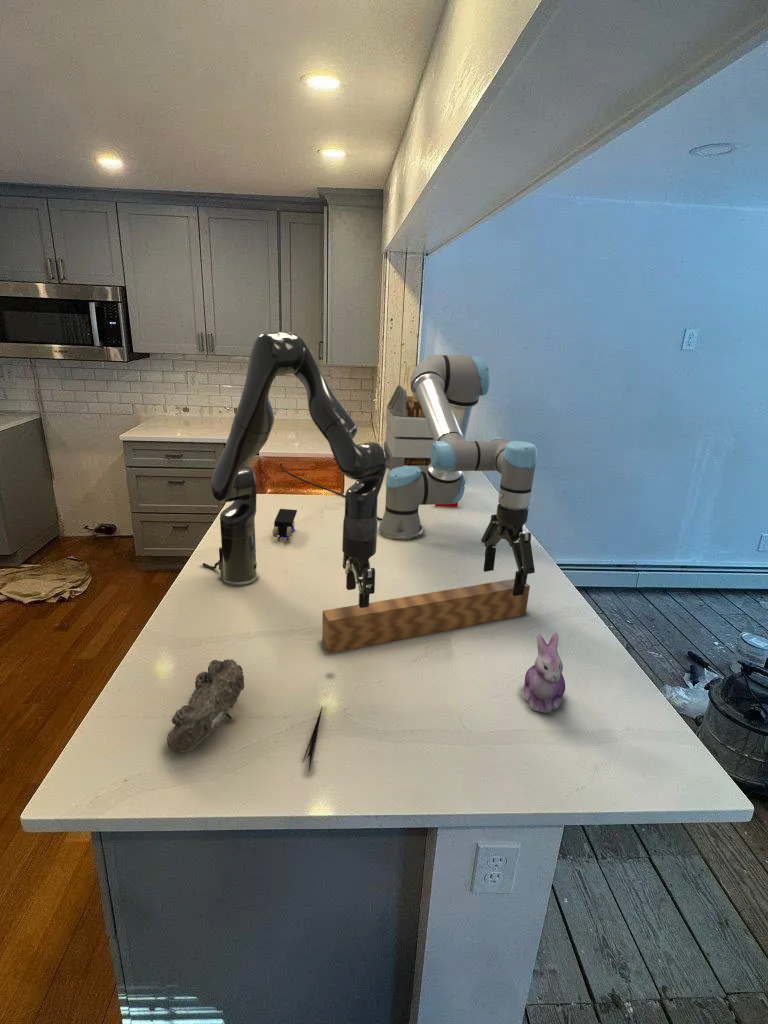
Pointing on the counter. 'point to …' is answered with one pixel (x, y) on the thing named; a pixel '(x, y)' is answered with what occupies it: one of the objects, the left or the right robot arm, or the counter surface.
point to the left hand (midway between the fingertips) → (357, 597)
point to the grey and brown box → (406, 432)
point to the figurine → (545, 677)
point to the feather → (313, 740)
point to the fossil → (206, 705)
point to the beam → (420, 615)
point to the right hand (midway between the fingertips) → (502, 582)
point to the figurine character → (284, 523)
